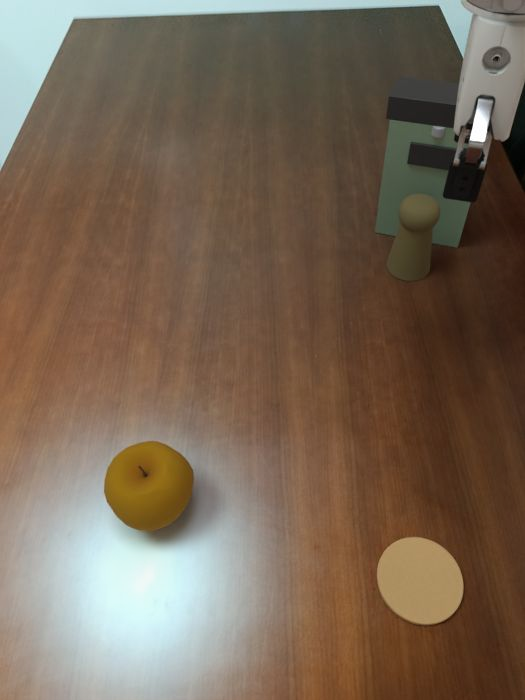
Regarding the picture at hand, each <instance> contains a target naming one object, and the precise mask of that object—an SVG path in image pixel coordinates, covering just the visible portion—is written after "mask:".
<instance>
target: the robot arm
mask: <svg viewBox="0 0 525 700" xmlns="http://www.w3.org/2000/svg"><path fill="white" fill-rule="evenodd" d="M460 4H461V5H462V6H463V8H464V9H466V11H468V12H470V13H471V14H472V16H471V20H470V25H469V28H468V29H469V30H468V35H467V38H466V45H465V49H464V54H463V59H462V65H461V70H460V75H459V76H460V77H459V82H458V83H459V88H458V95H457V103H456V112H455V121H454V132H455V137H454V141H455V142H458V145H457V149H456V153H455V158H454V159H451V162H450V166H449V170H448V175H447V179H446V183H445V187H444V191H443V197H444V198H446V199H452V200H459V201H465V202H471V203H476V202H477V201H478V198H479V195H480V191H481V189H482V185H483V182H484V179H485V174H486V172H487V168H488V163H487V162H488V161H487V160H488V157H489V152H490V147H491V144H492V139H494V140H495V141H499V142H502V143H503V142H505V141H506V140H508V139H509V137H510V134H511V131H512V126H513V124H514V120H515V116H516V112H517V109H518V106H519V103H520V99H521V95H522V93H523V89H524V85H525V0H460ZM464 143H465V144H468V146H467V148H464V150H463V146H464ZM462 150H463V151H462Z"/></svg>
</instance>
